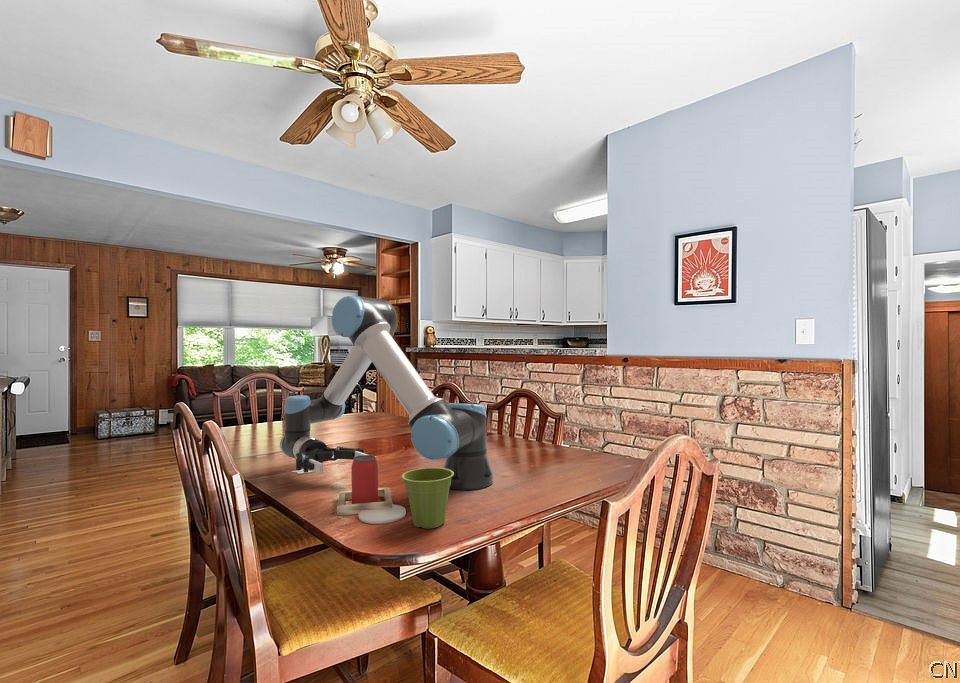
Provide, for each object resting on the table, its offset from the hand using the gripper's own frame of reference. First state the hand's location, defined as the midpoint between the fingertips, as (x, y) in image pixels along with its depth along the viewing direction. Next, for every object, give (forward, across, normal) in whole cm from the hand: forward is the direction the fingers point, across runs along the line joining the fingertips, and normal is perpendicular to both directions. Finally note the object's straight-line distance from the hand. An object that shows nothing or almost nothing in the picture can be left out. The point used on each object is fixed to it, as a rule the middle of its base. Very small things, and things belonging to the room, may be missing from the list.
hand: (345, 464), depth 132 cm
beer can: (+10, 0, -9) cm, 13 cm away
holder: (+10, 0, -8) cm, 13 cm away
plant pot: (+32, -4, -8) cm, 33 cm away
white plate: (+20, +1, -8) cm, 21 cm away
